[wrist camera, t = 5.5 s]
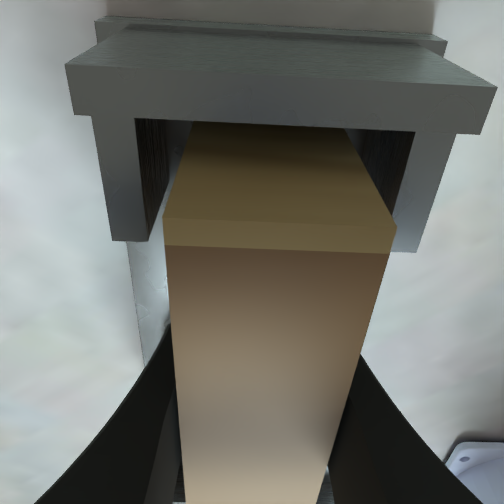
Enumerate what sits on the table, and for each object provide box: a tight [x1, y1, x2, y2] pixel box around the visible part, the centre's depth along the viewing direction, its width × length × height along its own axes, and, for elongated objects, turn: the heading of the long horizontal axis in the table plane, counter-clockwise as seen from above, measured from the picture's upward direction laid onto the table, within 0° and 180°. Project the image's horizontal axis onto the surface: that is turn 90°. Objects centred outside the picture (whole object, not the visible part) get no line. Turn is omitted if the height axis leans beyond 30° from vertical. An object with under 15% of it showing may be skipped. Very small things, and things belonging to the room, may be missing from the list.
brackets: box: [65, 16, 498, 504], centre depth 13 cm, size 16×8×5 cm, turn 177°
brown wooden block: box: [162, 121, 398, 504], centre depth 12 cm, size 12×4×5 cm, turn 177°
